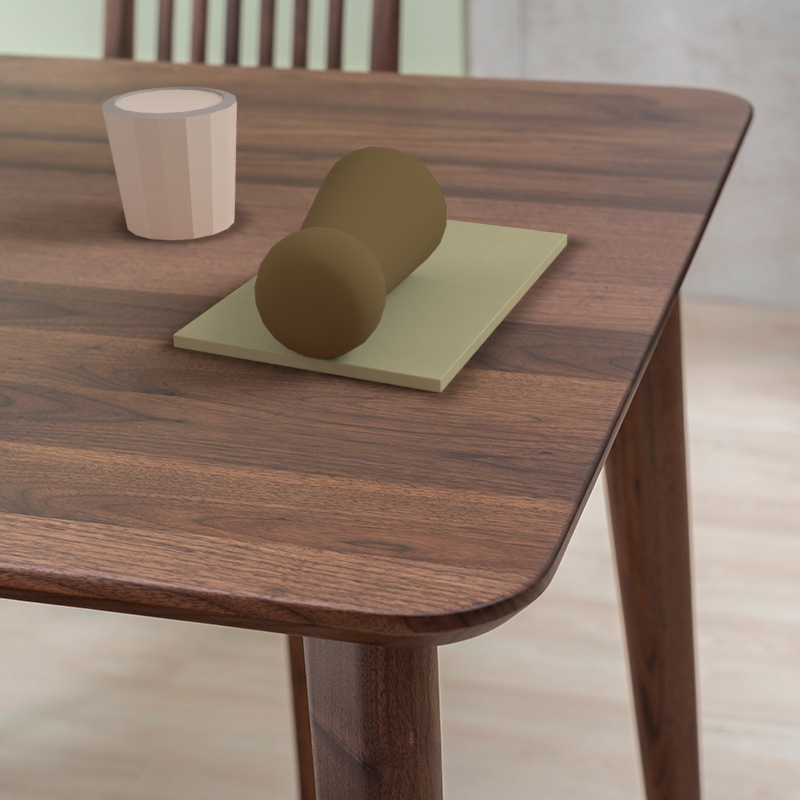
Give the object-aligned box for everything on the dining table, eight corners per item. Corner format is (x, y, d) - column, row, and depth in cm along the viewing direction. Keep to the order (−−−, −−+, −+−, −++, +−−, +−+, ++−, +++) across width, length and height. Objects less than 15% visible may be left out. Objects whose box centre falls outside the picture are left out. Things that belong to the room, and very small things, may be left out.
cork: (436, 140, 55) (366, 233, 46) (456, 267, 58) (394, 379, 49) (307, 152, 57) (216, 243, 48) (333, 275, 60) (251, 384, 50)
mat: (351, 225, 68) (350, 207, 67) (566, 252, 64) (567, 233, 63) (174, 356, 53) (172, 334, 53) (440, 403, 49) (440, 379, 48)
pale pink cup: (130, 259, 63) (114, 122, 60) (105, 219, 69) (90, 91, 66) (261, 241, 66) (253, 107, 62) (227, 203, 71) (217, 79, 68)
